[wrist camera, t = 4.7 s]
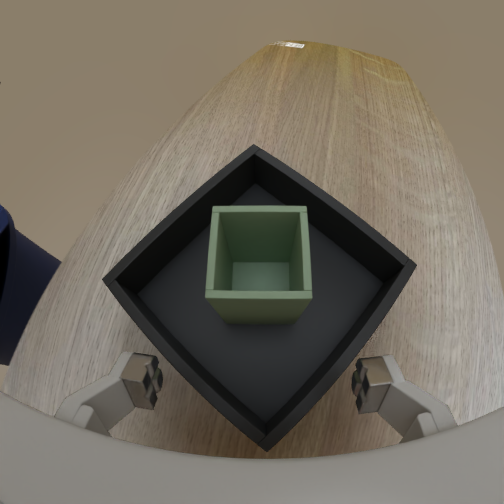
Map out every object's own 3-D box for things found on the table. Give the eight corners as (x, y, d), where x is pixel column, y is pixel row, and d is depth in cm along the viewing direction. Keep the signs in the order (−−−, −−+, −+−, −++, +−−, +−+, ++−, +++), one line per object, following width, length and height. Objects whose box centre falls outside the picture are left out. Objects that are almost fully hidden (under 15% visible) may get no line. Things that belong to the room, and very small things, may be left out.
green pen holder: (226, 323, 20) (204, 298, 13) (228, 260, 22) (212, 205, 15) (294, 324, 20) (312, 298, 13) (293, 260, 22) (306, 205, 15)
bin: (128, 296, 22) (101, 279, 18) (255, 177, 26) (253, 143, 22) (266, 435, 18) (267, 452, 13) (392, 284, 22) (417, 264, 17)
